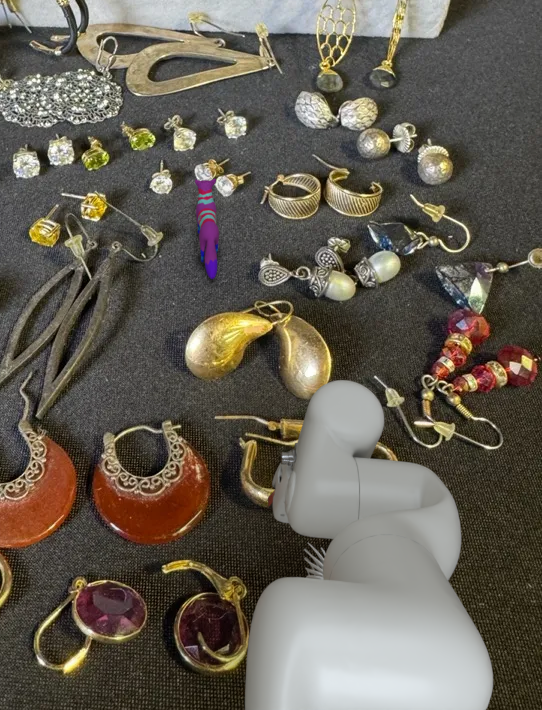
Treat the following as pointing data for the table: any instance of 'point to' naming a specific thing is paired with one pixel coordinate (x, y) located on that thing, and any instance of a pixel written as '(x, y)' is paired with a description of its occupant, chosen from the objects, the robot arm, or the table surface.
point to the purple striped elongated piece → (207, 226)
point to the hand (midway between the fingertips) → (305, 524)
